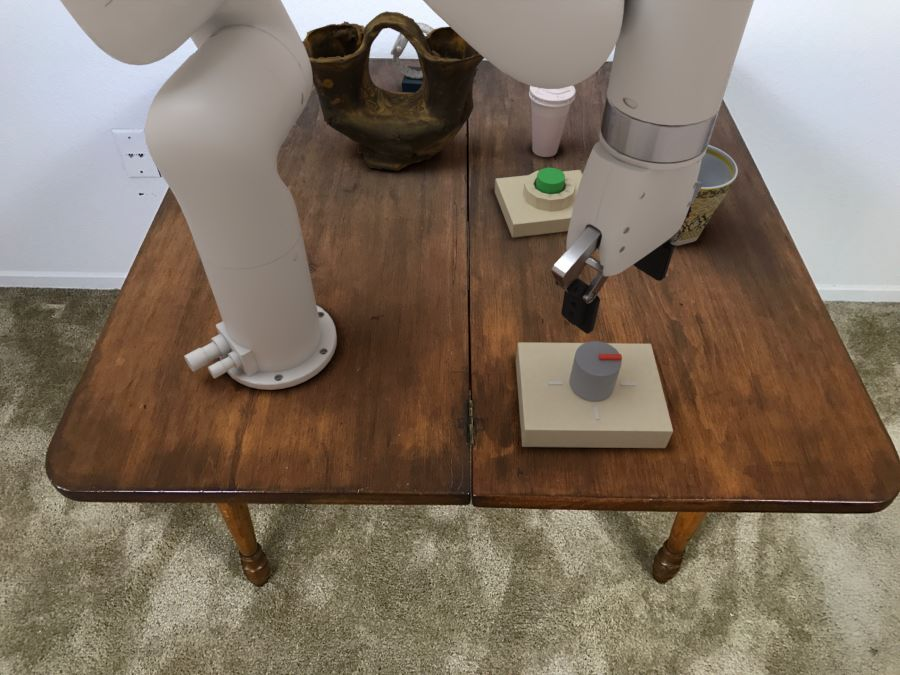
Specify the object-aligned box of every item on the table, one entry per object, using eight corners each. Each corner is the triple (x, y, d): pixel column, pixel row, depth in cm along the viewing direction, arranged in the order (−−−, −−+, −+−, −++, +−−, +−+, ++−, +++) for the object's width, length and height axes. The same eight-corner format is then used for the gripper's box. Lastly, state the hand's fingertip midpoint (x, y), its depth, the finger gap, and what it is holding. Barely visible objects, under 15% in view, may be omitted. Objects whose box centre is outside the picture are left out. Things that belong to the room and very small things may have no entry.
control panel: (522, 447, 66) (524, 428, 63) (515, 360, 73) (517, 340, 71) (665, 448, 66) (674, 430, 64) (644, 361, 73) (651, 342, 71)
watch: (396, 83, 113) (392, 16, 105) (444, 86, 113) (444, 19, 104) (390, 100, 109) (386, 32, 101) (439, 103, 109) (439, 35, 101)
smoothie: (564, 165, 98) (579, 71, 87) (520, 159, 99) (529, 66, 88) (568, 141, 102) (582, 49, 91) (525, 136, 103) (535, 44, 92)
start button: (539, 196, 87) (541, 185, 85) (532, 180, 89) (533, 168, 88) (566, 193, 87) (568, 182, 86) (558, 177, 90) (560, 166, 88)
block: (512, 238, 87) (514, 212, 84) (494, 191, 93) (496, 166, 90) (601, 227, 88) (606, 202, 85) (577, 182, 95) (582, 158, 92)
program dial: (571, 401, 66) (578, 373, 63) (567, 366, 69) (573, 338, 66) (617, 401, 66) (626, 374, 63) (610, 366, 69) (618, 338, 66)
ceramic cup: (704, 263, 84) (730, 197, 76) (625, 241, 87) (643, 174, 79) (723, 205, 92) (747, 140, 84) (650, 186, 94) (668, 121, 87)
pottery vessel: (486, 137, 102) (493, 1, 88) (483, 179, 95) (491, 39, 80) (322, 129, 103) (302, -6, 89) (307, 171, 96) (283, 30, 81)
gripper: (686, 63, 53) (641, 235, 66) (531, 145, 45) (514, 320, 58) (773, 100, 49) (707, 274, 62) (619, 196, 41) (580, 372, 54)
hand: (613, 296), depth 60 cm, fingers open, 9 cm apart
